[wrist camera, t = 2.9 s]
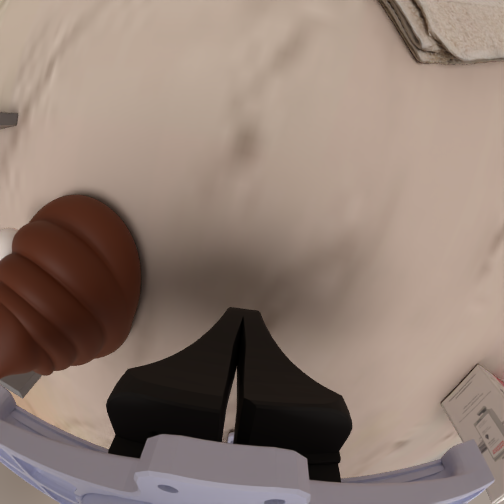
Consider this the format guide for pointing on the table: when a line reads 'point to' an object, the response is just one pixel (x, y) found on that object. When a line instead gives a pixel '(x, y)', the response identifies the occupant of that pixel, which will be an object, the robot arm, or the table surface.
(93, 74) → the table surface
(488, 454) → the ink box
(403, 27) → the washcloth
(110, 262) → the poop emoji
